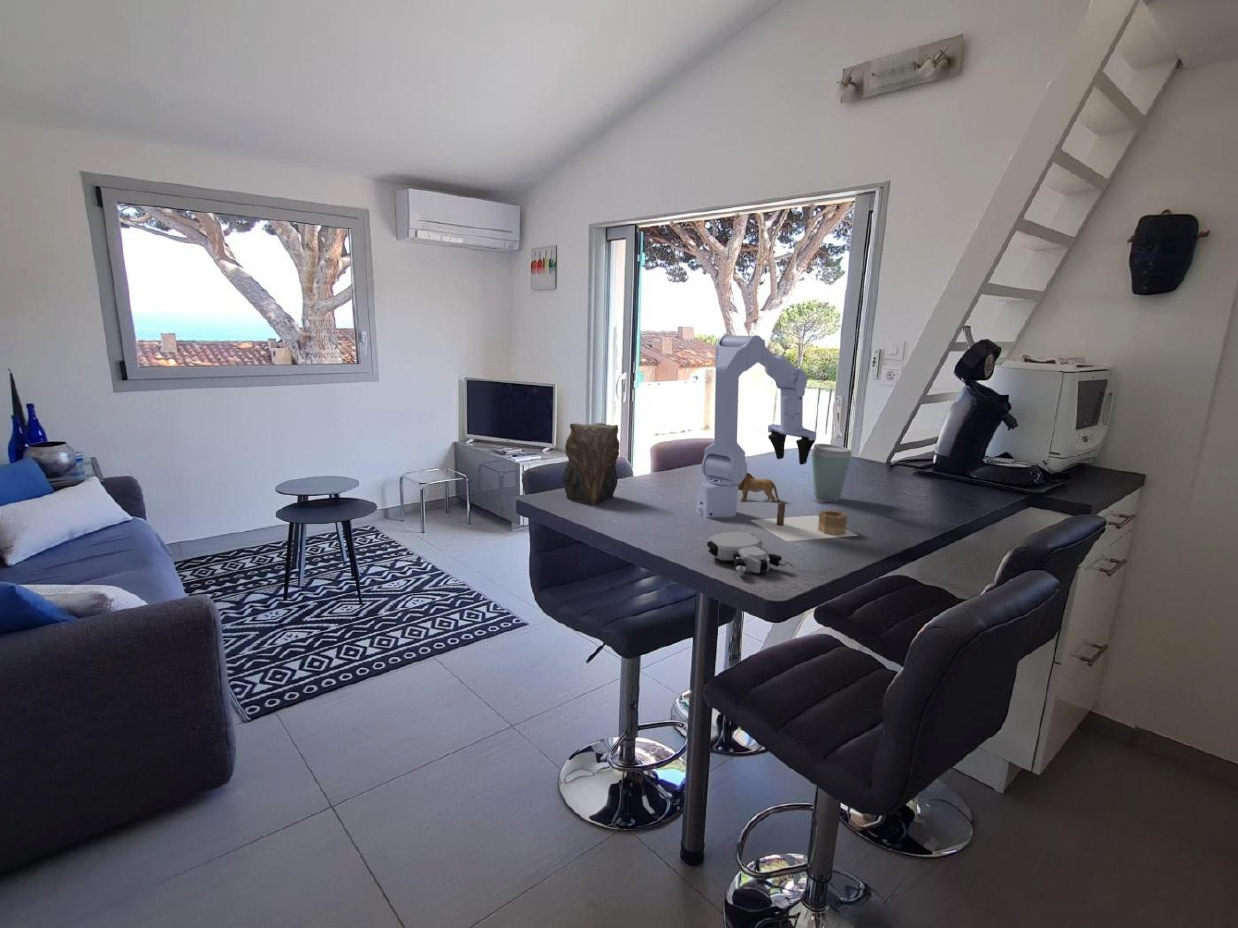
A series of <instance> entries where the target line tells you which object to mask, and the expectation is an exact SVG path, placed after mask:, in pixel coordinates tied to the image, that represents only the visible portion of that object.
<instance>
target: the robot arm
mask: <svg viewBox="0 0 1238 928" xmlns="http://www.w3.org/2000/svg"><path fill="white" fill-rule="evenodd" d="M714 353H715V359H714V360H715V361H714V364H715V365H714V368H715V379H714V380H715V381H714V383H715V385H714V386H715V388H714V389H715V390H714V392H715V394H714V434H713V435H714V440H713V442H712V443H711V444H710V445H709V446H707V447H706V448H705V449H704V455H703V459H702V462H701V472H702V475H703V476H704V477H705V481H706V482H705V483H703V482H702V483H700V484H698V487H697V489H696V490H697V491H696V508H695V512H696V513H698V514H699V515H701V516H702V517H703V518H706V519H710V518H713V519H714V518H733V517H736V516H737V513H738V512H737V511H738V499H739V498H738V495H739V490H738V484H741V482H742V481H743V480H744V478H745V476H746V474H747V473H748V464H747V460H746V451H745V450H744V449H743V448H742V446H741V445H739V443H738V417H739V416H738V415H739V381H740V380H739V379H740V376H741V375H742V374H743V373H745V372H747V371H749V370H750V369H751V368H752V367H754V366H755V365H757V364H760V365H761V366H762V367H764V371H765V373H766V375H768V376H769V377H770V378H771V379H773V381H774V382H775V385H776V388H777V389H779V392H780V424H774V423H773V424H769V425H767V432H768V433H770V434H769V435H768V440H769V441H770V442H771V444H772V447H773V449H774V453H775V457H776V459H777V460H781V459H784V456H785V445H786V444H785V443H786V438H787V436H789V437H797V438H799V439H797V440H796V441H795V443H796V446H797V451H798V463H799V465H800V466H801V465H805V464H807V462H808V457H809V454H810V453H811V450H812V447H813V446H814V445H815V444H814V443H815V442H816V440H817V431H813V430H810V429H807V428H805V427H804V425H803V422H804V421H803V419H804V418H803V413H804V412H803V409H804V407H803V406H804V405H803V403H804V401H803V399H804V398H803V396H805V393H806V387H807V383H808V375H807V373H806V371H805V370H803V369H802V368H797V367H796V366H795V365H794V363H791V362H789V360H787V359H786V356H785V355H783V354H777V355H774V354H773V352H772V351H770V349H769V348H768V347H767V346H766V340H765V339H764V338H762V337H761V336H760V335H757V334H754V335H730V334H724V335H722V336H721V337H720V338H719V340H718V341H717V342H716V344H715V352H714Z"/></svg>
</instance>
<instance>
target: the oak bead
mask: <svg viewBox="0 0 1238 928" xmlns="http://www.w3.org/2000/svg"><path fill="white" fill-rule="evenodd" d="M847 525H848V514H847V513H845V512H842V511H837V510H829V509H828V510H821V511H820V512H819V525H818V531H820V532H822V533H824V534H830V535H844V534H845V532H846V530H847V527H848V526H847Z"/></svg>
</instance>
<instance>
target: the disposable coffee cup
mask: <svg viewBox="0 0 1238 928" xmlns="http://www.w3.org/2000/svg"><path fill="white" fill-rule="evenodd" d="M810 454H811V461H812V477H813V479H812V481H813V493H814V497H815V499H816V500H818V501H821V502H826V503H828V502H829V503H834V502H839V500H840V498H841V495H842V491H843V489H844V484H845V480H846V476H847V473H848V472H847V471H848V470H849V469H848V468H849V465H850V461H851V458H852V451H851V450H850V449H849V448H847V447H844V446H842V445H841V446H840V445H836V444H831V443H829V444H828V443H815V444H813V448H811V450H810Z"/></svg>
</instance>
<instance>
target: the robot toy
mask: <svg viewBox="0 0 1238 928" xmlns="http://www.w3.org/2000/svg"><path fill="white" fill-rule="evenodd" d="M699 540H700V542H701V543H702V544H703V545H704V546H705V548H706V551H707V552H708V553H710V554H711V555H712V556H714V557H715V558H716V559H718V560H720V561H722V562H723V561H725V562H726V561H733V564H734V565H733V567H734V570H735V571H736V572H737V573H738V572H739V573H741V572H742V573H745V572H746V573H747V574H748V573H749V574H750V573H755V574H756V573H757V574H760V573H761V572H762V573H764V572H765V573H767V572H769V570H770V565H771V566H775V567H779V566H781V567H787V566H788V565H789V561H788V560H786V559H783V558H782V556H781V555H778V554H776V553H769V554H768V553H767V551H765V550H763V549H762V545H763V543H762V541H761V540H760V539H759V538H757V537H756V536H755V535H754V534H753V532H752V531H749V533H748V532H742V531H740V532H739V531H737V532H736V531H731V532H721V533H717V534H714V535H712V536H711V537H709V538H708V541H707V542H706V543H705V541H704V540H703V538H702V537H700V536H699Z"/></svg>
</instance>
